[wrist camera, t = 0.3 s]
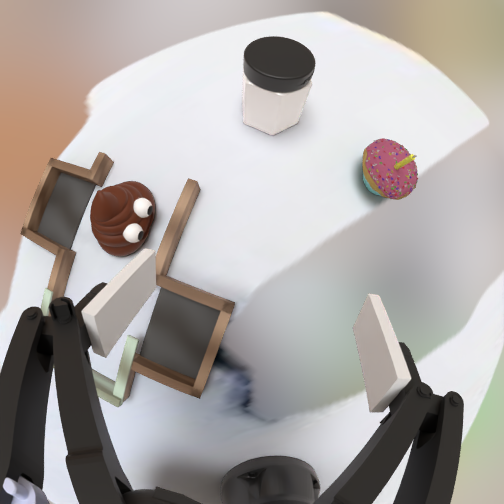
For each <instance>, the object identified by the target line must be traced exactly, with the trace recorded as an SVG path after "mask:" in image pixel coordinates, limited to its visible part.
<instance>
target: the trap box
mask: <svg viewBox="0 0 504 504" xmlns="http://www.w3.org/2000/svg"><path fill="white" fill-rule="evenodd" d="M113 163H114V162H113V161H112V160H111V159H110V158H109V157H108V156H107V155H106V154H105V153H101V152H99V153H98V155H97V157H96V159H95V161H94V163H93V165H92V167H91V169H90V170H89V169H86V168H83V167H79V166H76V165H73V164H70V163H66V162H63V161H60V160H57V159H53V158H51V159H50V161H49V163H48V165H47V167H46V169H45V172H44V174H43V176H42V178H41V180H40V183H39V185H38V188H37V190H36V192H35V195H34V197H33V200H32V202H31V205H30V207H29V210H28V213H27V216H26V219H25V221H24V224H23V228H22V231H21V234H22V235H23V236H25V237H26V238H28V239H30V240H31V241H33V242H35V243H36V244H38V245H40V246H41V247H43V248H45V249H46V250H48V251H50V252H51V253H53V254H55V255H56V258H55V262H54V265H53V269H52V272H51V276H50V280H49V284H48V288H45V291H44V295H43V300H42V305H41V310H42V312H43V315H44V316H51V314H50V311H49V308H48V307H49V304H50V303H51V301H52V300H54V299H56V298H59V297H63V296H64V292H65V288H66V285H67V281H68V277H69V274H70V270H71V267H72V264H73V261H74V258H75V254H76V252H74V251H72V250H71V247H72V244H73V241H74V238H75V235H76V232H77V230H78V227H79V224H80V222H81V219H82V216H83V214H84V211H85V209H86V207H87V204H88V202H89V199H90V197H91V195H92V193H93V190H94V188H95V186H96V185H98V186H101V187H102V186H103V183H104V181H105V179H106V177H107V175H108V173H109V171H110V169H111V167H112V165H113ZM199 192H200V187H199V184H198V182H197V181H195V180H192V179H189V178H188V180H187V182H186V184H185V187H184V189H183V191H182V193H181V196H180V198H179V200H178V202H177V205H176V207H175V209H174V212H173V214H172V217H171V219H170V221H169V224H168V226H167V229H166V231H165V234H164V236H163V239H162V241H161V244H160V247H159V249H158V252H157V255H156V285H158V286H160V287H161V290H160V293H159V296H158V298H157V301H156V304H155V307H154V310H153V313H152V316H151V320H150V323H149V326H148V329H147V332H146V335H145V339H144V342H143V345H142V349H141V352H140V354H138V353H136V348H137V345H138V342H139V339H137V338H134V337H132V336H130V335H128V336H127V340H126V343H125V347H124V351H123V354H122V358H121V362H120V366H119V370H118V374H117V378H116V382H115V381H113V380H111V379H109V378H107V377H105V376H103V375H102V374H100V373H98V372H96V371H95V370H93V369H92V373H93V377H94V382H95V386H96V390H97V395H98V397H100V398H102V399H103V400H105V401H107V402H109V403H111V404H112V405H114V406H116V407H119V406H121V405H122V403H123V402H124V401H125V400H126V399H127V398H128V397H129V395H130V391H131V387H132V383H133V379H134V376H135V372H137V373H140V374H142V375H144V376H146V377H148V378H150V379H153V380H155V381H157V382H159V383H162V384H164V385H166V386H169V387H171V388H174V389H176V390H178V391H181V392H184V393H186V394H189V395H191V396H194V397H197V398H199V399H200V397H201V394H202V392H203V389H204V386H205V384H206V381H207V378H208V375H209V373H210V370H211V367H212V365H213V362H214V359H215V357H216V354H217V351H218V348H219V346H220V343H221V340H222V338H223V335H224V332H225V330H226V327H227V324H228V321H229V319H230V316H231V313H232V311H233V308H234V305H235V302H232V301H230V300H227V299H224V298H222V297H219V296H216V295H214V294H211V293H208V292H206V291H203V290H201V289H198V288H196V287H193V286H191V285H188V284H185V283H183V282H180V281H178V280H176V279H173V278H171V277H168V276H166V275H167V272H168V269H169V266H170V264H171V261H172V258H173V256H174V253H175V250H176V248H177V245H178V243H179V240H180V238H181V235H182V233H183V230H184V228H185V225H186V223H187V220H188V218H189V215H190V213H191V210H192V208H193V206H194V203H195V201H196V199H197V196H198V194H199ZM53 368H54V366H53Z"/></svg>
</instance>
